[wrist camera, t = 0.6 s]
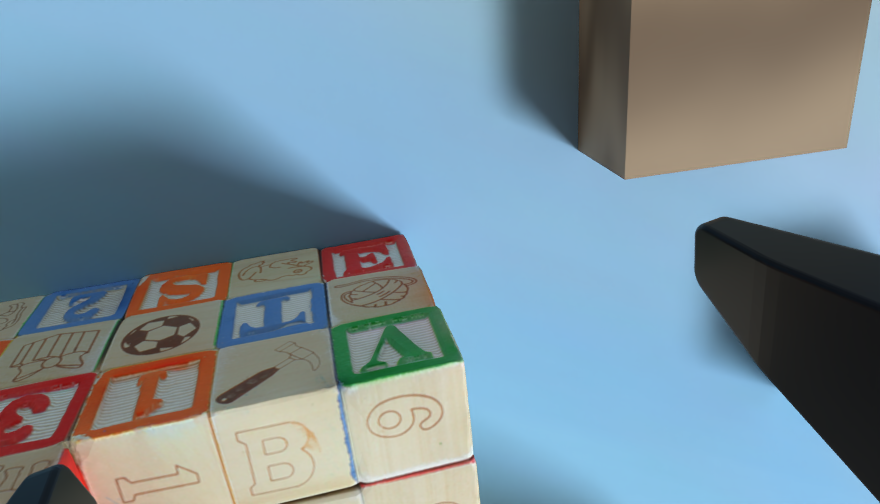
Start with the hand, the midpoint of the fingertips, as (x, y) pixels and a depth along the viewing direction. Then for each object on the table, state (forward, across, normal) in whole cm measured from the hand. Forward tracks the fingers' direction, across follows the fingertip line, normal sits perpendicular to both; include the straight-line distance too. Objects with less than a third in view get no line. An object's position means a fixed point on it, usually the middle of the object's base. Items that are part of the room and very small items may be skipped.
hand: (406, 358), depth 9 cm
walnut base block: (+14, -14, +3) cm, 20 cm away
